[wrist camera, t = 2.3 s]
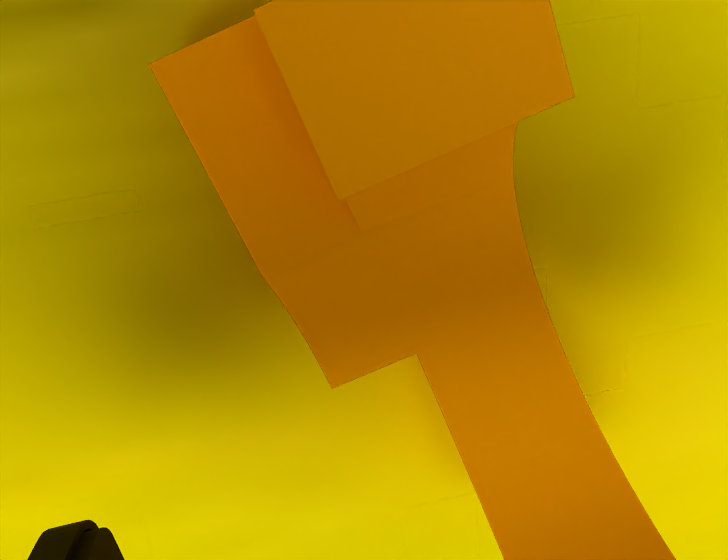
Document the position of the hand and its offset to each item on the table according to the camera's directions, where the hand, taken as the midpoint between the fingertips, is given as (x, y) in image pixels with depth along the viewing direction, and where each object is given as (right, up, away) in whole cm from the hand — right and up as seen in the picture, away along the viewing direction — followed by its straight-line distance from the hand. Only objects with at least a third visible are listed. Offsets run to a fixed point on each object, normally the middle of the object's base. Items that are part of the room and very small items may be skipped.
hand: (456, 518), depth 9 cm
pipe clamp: (0, +3, +5) cm, 6 cm away
